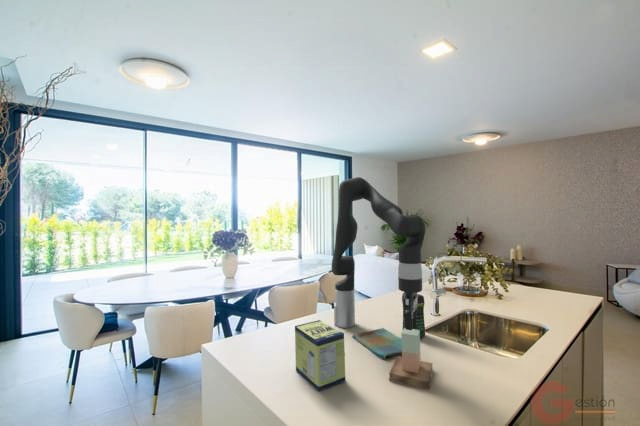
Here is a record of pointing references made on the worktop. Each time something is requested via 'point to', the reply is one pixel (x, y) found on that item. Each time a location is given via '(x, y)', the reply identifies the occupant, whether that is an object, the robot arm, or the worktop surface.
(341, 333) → the protein box
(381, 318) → the worktop surface
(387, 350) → the dish towel
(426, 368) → the plinth
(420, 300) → the coffee jar
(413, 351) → the sage block
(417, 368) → the terracotta block
